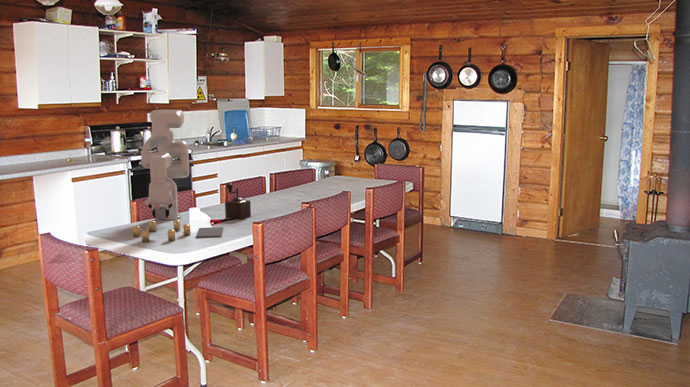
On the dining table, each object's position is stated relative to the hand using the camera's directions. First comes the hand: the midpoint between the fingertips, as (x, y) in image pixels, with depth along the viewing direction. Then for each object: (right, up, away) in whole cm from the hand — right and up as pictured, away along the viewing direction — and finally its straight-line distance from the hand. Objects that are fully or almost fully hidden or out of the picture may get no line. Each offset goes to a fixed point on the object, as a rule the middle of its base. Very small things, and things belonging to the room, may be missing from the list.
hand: (161, 217), depth 302 cm
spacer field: (0, -9, +1) cm, 9 cm away
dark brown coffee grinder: (+28, -2, +44) cm, 52 cm away
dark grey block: (0, 0, 0) cm, 1 cm away
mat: (+23, -8, +6) cm, 25 cm away
